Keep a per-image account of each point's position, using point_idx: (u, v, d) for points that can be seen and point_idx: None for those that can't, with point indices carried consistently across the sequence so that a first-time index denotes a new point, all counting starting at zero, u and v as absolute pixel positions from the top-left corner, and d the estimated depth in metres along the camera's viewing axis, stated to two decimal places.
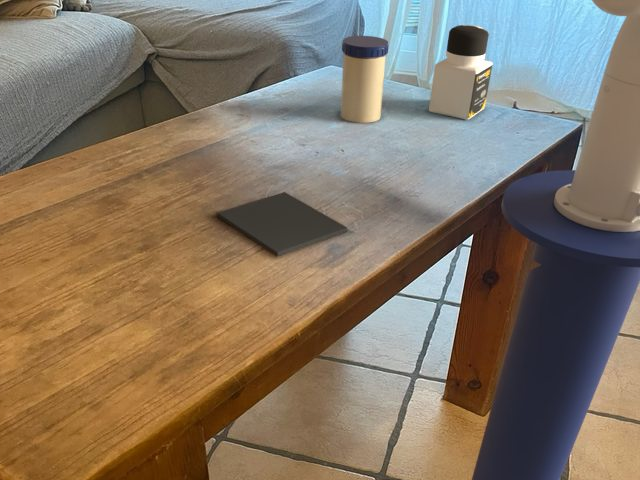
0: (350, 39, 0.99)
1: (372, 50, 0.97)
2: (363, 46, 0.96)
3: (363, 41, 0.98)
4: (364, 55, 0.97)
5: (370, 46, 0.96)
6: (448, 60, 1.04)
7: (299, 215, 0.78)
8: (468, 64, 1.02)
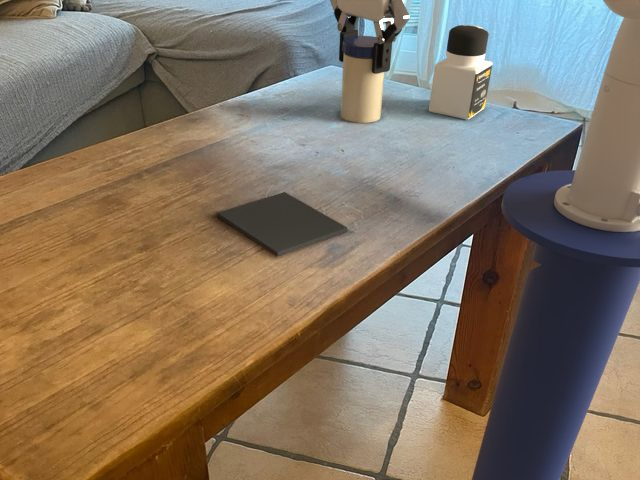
0: (350, 39, 0.99)
1: (372, 50, 0.97)
2: (363, 46, 0.96)
3: (363, 41, 0.98)
4: (364, 55, 0.97)
5: (370, 46, 0.96)
6: (448, 60, 1.04)
7: (299, 215, 0.78)
8: (468, 64, 1.02)
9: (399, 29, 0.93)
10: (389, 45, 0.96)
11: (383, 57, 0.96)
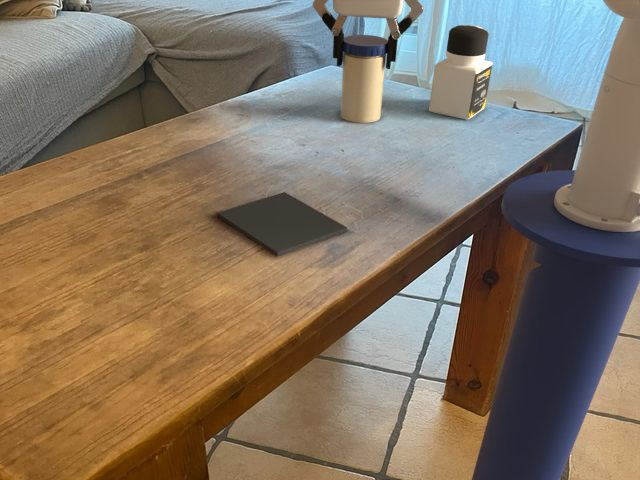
0: (351, 41, 0.98)
1: (385, 46, 0.98)
2: (378, 45, 0.97)
3: (365, 40, 0.98)
4: (380, 53, 0.97)
5: (383, 43, 0.97)
6: (448, 60, 1.04)
7: (299, 215, 0.78)
8: (468, 64, 1.02)
9: (413, 21, 0.96)
10: None
11: (396, 51, 0.99)
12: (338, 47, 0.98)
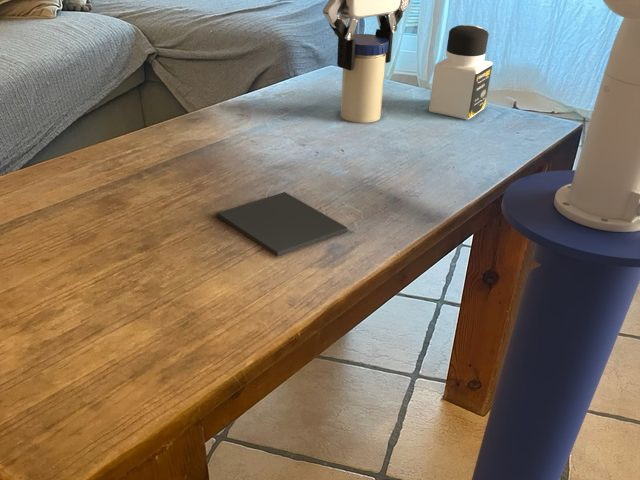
0: (361, 42, 0.97)
1: None
2: (385, 40, 0.98)
3: (367, 39, 0.98)
4: (387, 48, 0.99)
5: (385, 39, 0.99)
6: (448, 60, 1.04)
7: (299, 215, 0.78)
8: (468, 64, 1.02)
9: None
10: None
11: None
12: (352, 51, 0.96)
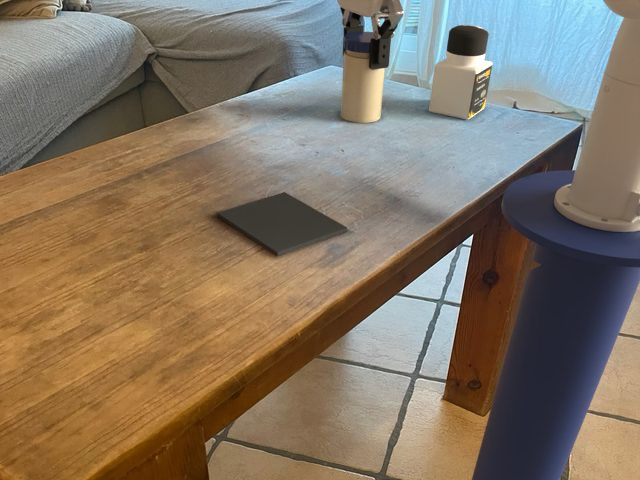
0: None
1: None
2: (372, 32, 1.00)
3: (369, 36, 0.98)
4: None
5: (365, 32, 1.00)
6: (448, 60, 1.04)
7: (299, 215, 0.78)
8: (468, 64, 1.02)
9: None
10: None
11: None
12: (389, 47, 0.97)
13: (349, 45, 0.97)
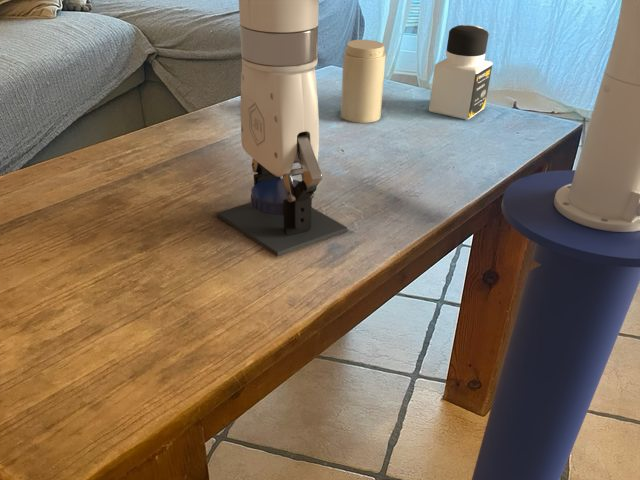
0: None
1: None
2: None
3: (284, 189, 0.75)
4: None
5: (282, 179, 0.77)
6: (448, 60, 1.04)
7: None
8: (468, 64, 1.02)
9: None
10: None
11: None
12: (310, 207, 0.73)
13: (257, 204, 0.73)
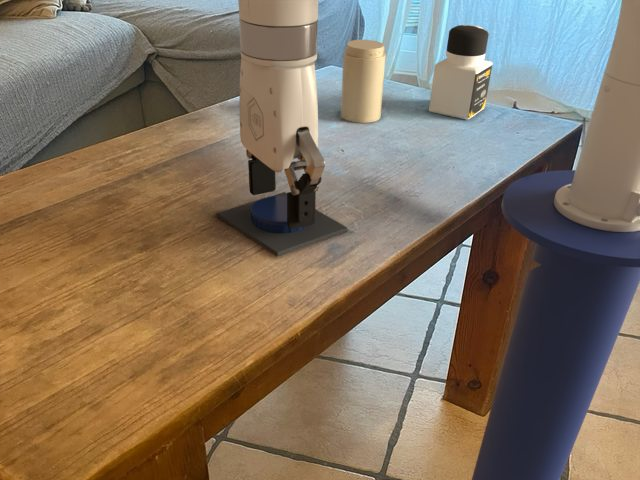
0: None
1: None
2: None
3: (284, 207, 0.76)
4: None
5: (281, 197, 0.78)
6: (448, 60, 1.04)
7: None
8: (468, 64, 1.02)
9: None
10: None
11: None
12: (314, 201, 0.72)
13: (257, 222, 0.75)
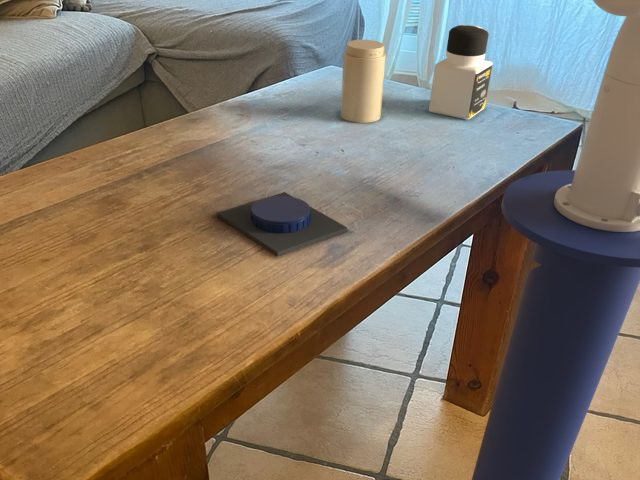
0: (298, 213, 0.75)
1: None
2: (290, 198, 0.78)
3: (284, 207, 0.76)
4: None
5: (281, 197, 0.78)
6: (448, 60, 1.04)
7: None
8: (468, 64, 1.02)
9: None
10: None
11: None
12: None
13: (257, 222, 0.75)
